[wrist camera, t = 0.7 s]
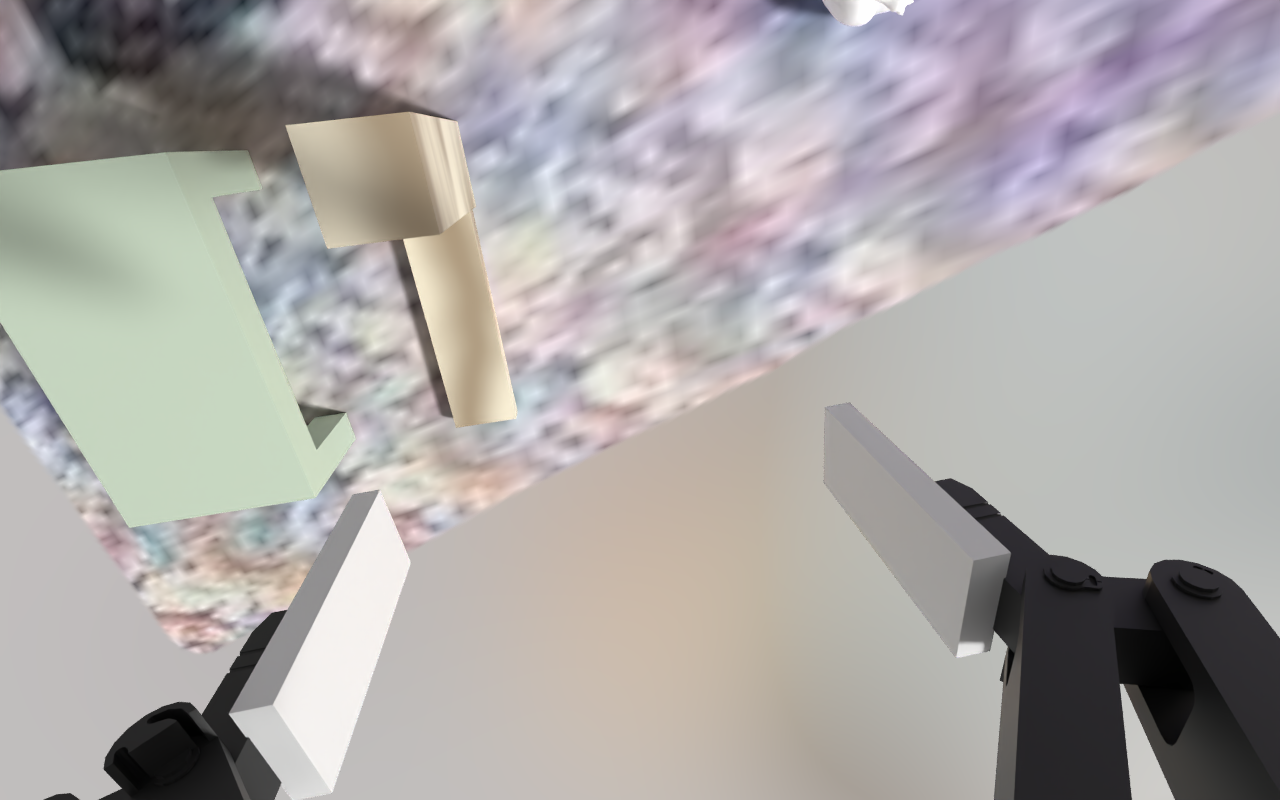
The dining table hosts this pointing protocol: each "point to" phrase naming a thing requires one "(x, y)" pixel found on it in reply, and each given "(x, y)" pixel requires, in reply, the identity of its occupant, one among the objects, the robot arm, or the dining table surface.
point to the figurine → (863, 9)
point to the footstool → (155, 335)
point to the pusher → (416, 236)
